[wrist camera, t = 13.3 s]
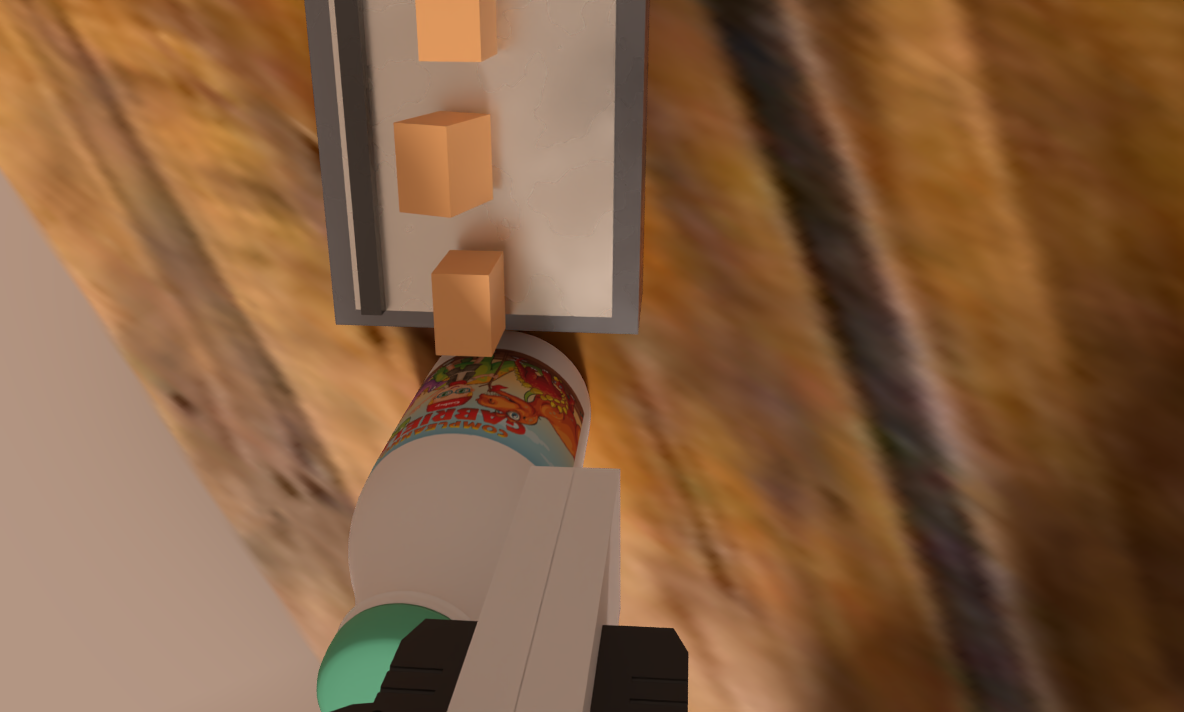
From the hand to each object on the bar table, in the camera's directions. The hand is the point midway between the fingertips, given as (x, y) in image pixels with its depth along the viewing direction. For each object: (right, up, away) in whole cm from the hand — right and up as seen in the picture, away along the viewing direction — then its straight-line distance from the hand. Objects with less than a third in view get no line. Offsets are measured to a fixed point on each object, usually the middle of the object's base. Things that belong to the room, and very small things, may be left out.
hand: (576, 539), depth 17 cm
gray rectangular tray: (-4, +13, +24) cm, 27 cm away
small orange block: (-4, +11, +19) cm, 22 cm away
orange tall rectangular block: (-4, +15, +17) cm, 23 cm away
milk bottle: (-4, +1, +29) cm, 29 cm away
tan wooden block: (-4, +6, +21) cm, 22 cm away
